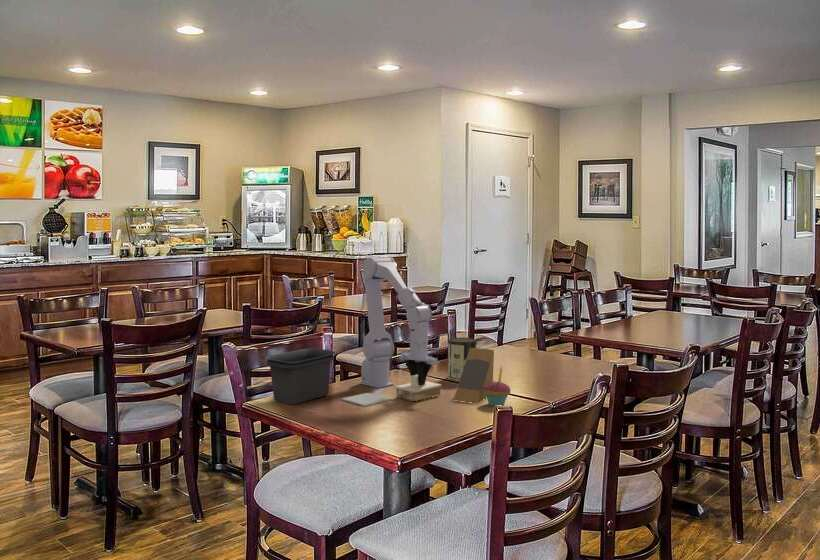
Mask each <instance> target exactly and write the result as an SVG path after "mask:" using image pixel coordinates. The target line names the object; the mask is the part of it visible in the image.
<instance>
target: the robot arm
mask: <svg viewBox="0 0 820 560" xmlns="http://www.w3.org/2000/svg"><path fill="white" fill-rule="evenodd" d="M361 266H362V277H363V282H364V289H365V300H366V310H367V319H368V320H367V321H368V328H369V331H368V333H367V334H365V336H364V337H363V346H362V352H363V353H362V354H363V356H364V359H363V361H362V363H361V367H360V368H361V373H360V374H361V376H360V377H361V381H360V382H359V385H364V386H368V387H372V388H376V389H379V388H384V387H388V386H393V385H394V386H395V383H394V382H390V359H391V357H392V356H393V355H394V352H395V345H394V343H393V339H392V335H391V334H390V333H389V332H388V331H387V330H386V327H385V319H384V316H385V315H384V307H383V297H382V288H381V285H382V284H383V283H384V281H387V282H388V283H389V284H390V285H391V286H392V288H393V289H394V290H395V292H396V293H397V300H398V302H399V303H400V304H401V306H402V307H403V308H404V309H403V310H405V312H406V315H405V316H406V319H407V321H408V328H409V352H401V353H400V360H407V361H406V362H405V366H406V368H407V370H408V371H409V375H410V376H411V375H416V374H418V384H419V385H424V384H425V380H426V381H427V376H428V374H429V371H430V369H431V368H432V366H437V365H438V358H435V357H433V356H431V355H428V353H429V352H428V348H429V345H428V344H429V322H431V320H432V318H433V311H432V309H431V307H430V305H429V304H426V303H425V302H422V301H421V299H420V298H419V297H418V295H417V294H416V292H415V290H414V288H411V287H408V286H407V285H406V284H405V282H404V280H403V279H402V276H401V275H400V274H399V272H398V270H397V268H398V265H397V262H396V261H395V260H394V258H393V257H392V256H383V257H382V256H381V257H369V256H368V257H367V258H365V260H364V262H363V263H362V265H361Z"/></svg>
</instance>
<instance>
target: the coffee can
mask: <svg viewBox="0 0 820 560" xmlns="http://www.w3.org/2000/svg"><path fill="white" fill-rule="evenodd" d="M447 342H448V344H447V345H448V347H447V351H448V352H447V356H448V357H447V379H448V380H450V381H454V380H455V381H454V382H456V381H457V382H460V378H461V375H462V372H463V369H464V366H465V363H466V360H467V356H468V352H469V349H470V348H477V342H478V341H477V339H475V338H471V337H451V338H448V339H447Z"/></svg>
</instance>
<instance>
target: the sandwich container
mask: <svg viewBox="0 0 820 560" xmlns="http://www.w3.org/2000/svg"><path fill="white" fill-rule="evenodd" d="M494 355H495V350H494V349H488V348H480V347H479V348H478V347H476V348H470V349H469V352H468V356H467V360H466V363H465V366H464V369H463V372H462V375H461V378H460V381H458V385H457V387H456V392H455V394H454V397H453V400H458V401H465V402H472V403H478V402H480V401H481V402H483V401H484V400H483V399H485V398H486V395H485V394H483V388H484V386H486V385H487V384H489V383H490V382H494V362H495V361H494V360H495V359H494V358H495V357H494ZM486 399H487V398H486ZM486 399H485V400H486ZM482 400H483V401H482ZM481 402H480V403H481ZM478 404H479V403H478Z"/></svg>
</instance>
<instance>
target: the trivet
mask: <svg viewBox="0 0 820 560" xmlns="http://www.w3.org/2000/svg"><path fill="white" fill-rule="evenodd" d="M391 399H392V398H389V397H386V396H385V397H384V396H382V395H377V394H373V393H369V392H365V393H360V394H355V395H352V396H347V397H343V398H341V401H344V402H347V403H351V404H354V405H357V404H358V405H357V406H361V407H368V406H373V405H377V404H382V403H385V401H386V402H389V400H390V401H392V400H391ZM381 402H382V403H381Z"/></svg>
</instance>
